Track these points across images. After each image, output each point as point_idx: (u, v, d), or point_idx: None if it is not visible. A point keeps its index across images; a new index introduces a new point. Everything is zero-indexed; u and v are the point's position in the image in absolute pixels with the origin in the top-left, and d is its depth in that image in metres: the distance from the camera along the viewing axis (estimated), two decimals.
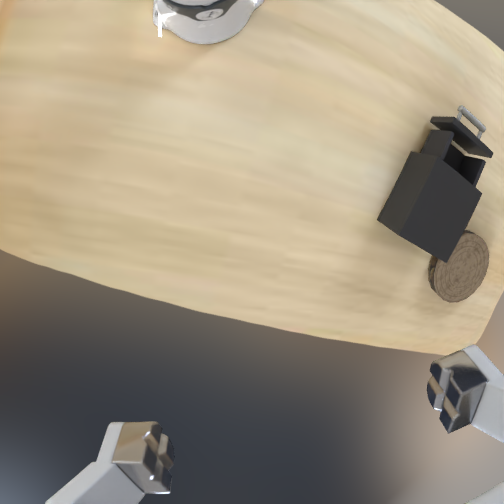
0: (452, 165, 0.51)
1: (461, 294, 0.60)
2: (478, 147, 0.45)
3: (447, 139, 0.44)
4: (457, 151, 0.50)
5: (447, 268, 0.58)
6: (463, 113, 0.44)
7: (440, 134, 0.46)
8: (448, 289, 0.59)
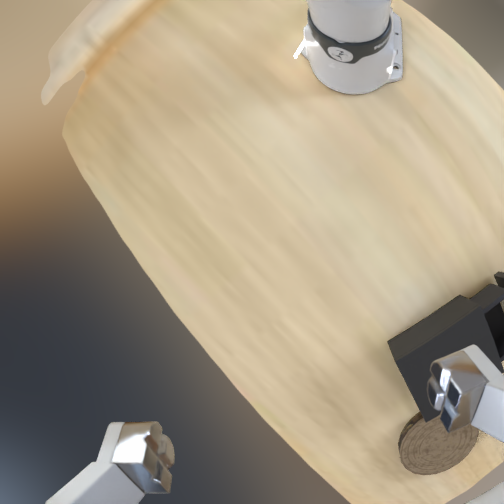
0: (491, 331, 0.41)
1: (422, 467, 0.44)
2: None
3: (499, 295, 0.36)
4: None
5: (425, 433, 0.44)
6: None
7: (496, 289, 0.39)
8: (413, 454, 0.44)
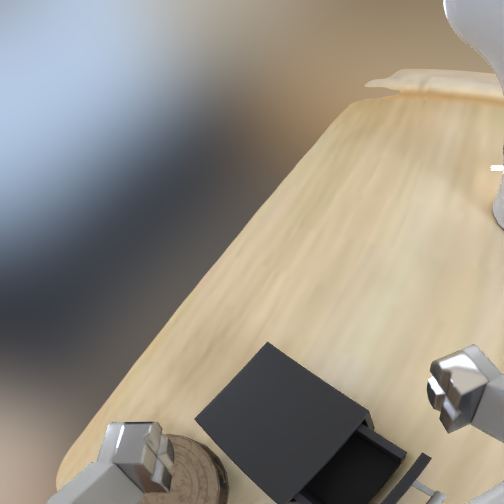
0: (339, 492, 0.27)
1: None
2: None
3: (393, 444, 0.24)
4: None
5: (180, 457, 0.36)
6: (431, 498, 0.20)
7: None
8: None
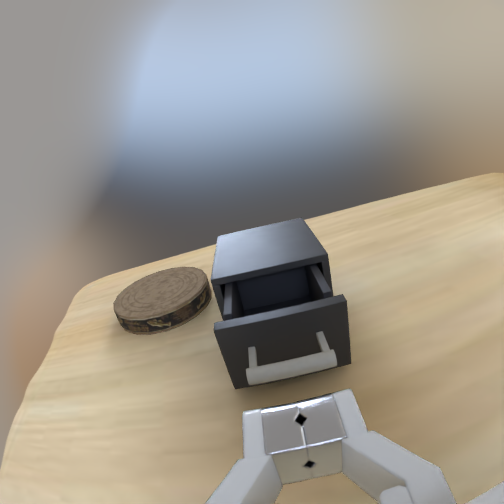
0: None
1: (145, 280, 0.54)
2: None
3: None
4: None
5: (186, 279, 0.51)
6: None
7: None
8: (170, 273, 0.55)
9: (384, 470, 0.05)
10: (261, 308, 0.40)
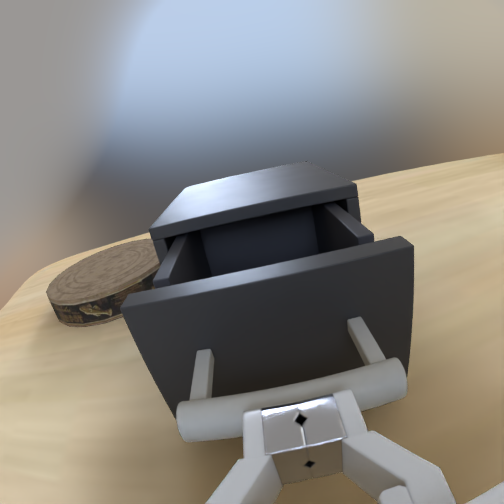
0: None
1: (96, 256, 0.39)
2: None
3: None
4: None
5: (144, 252, 0.36)
6: None
7: None
8: (128, 247, 0.39)
9: (384, 470, 0.05)
10: None
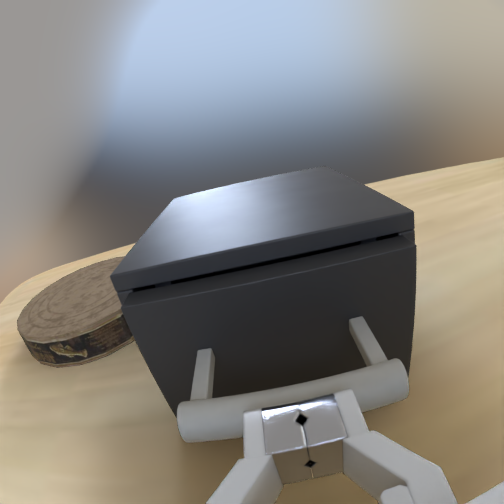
0: None
1: (76, 275, 0.33)
2: None
3: None
4: None
5: None
6: None
7: None
8: (111, 266, 0.33)
9: (385, 470, 0.05)
10: None
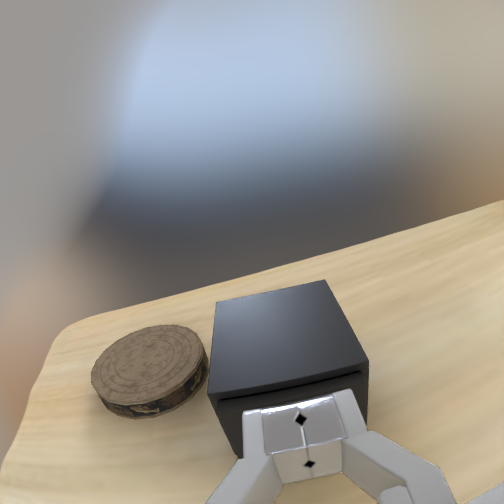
0: None
1: (129, 340, 0.43)
2: None
3: None
4: None
5: (178, 346, 0.40)
6: None
7: None
8: (159, 334, 0.44)
9: (384, 470, 0.05)
10: None
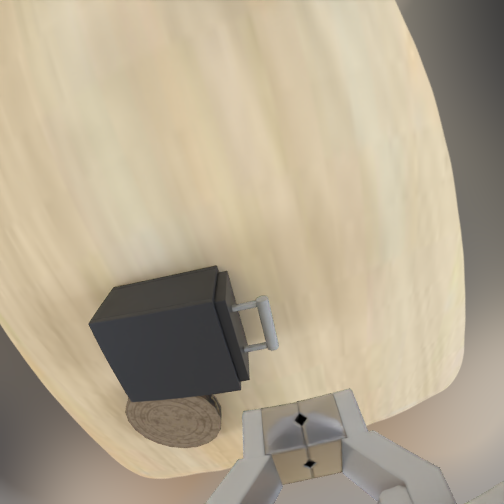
0: None
1: (154, 435, 0.48)
2: None
3: None
4: None
5: (152, 404, 0.45)
6: (258, 308, 0.36)
7: None
8: (140, 419, 0.46)
9: (384, 470, 0.05)
10: None
